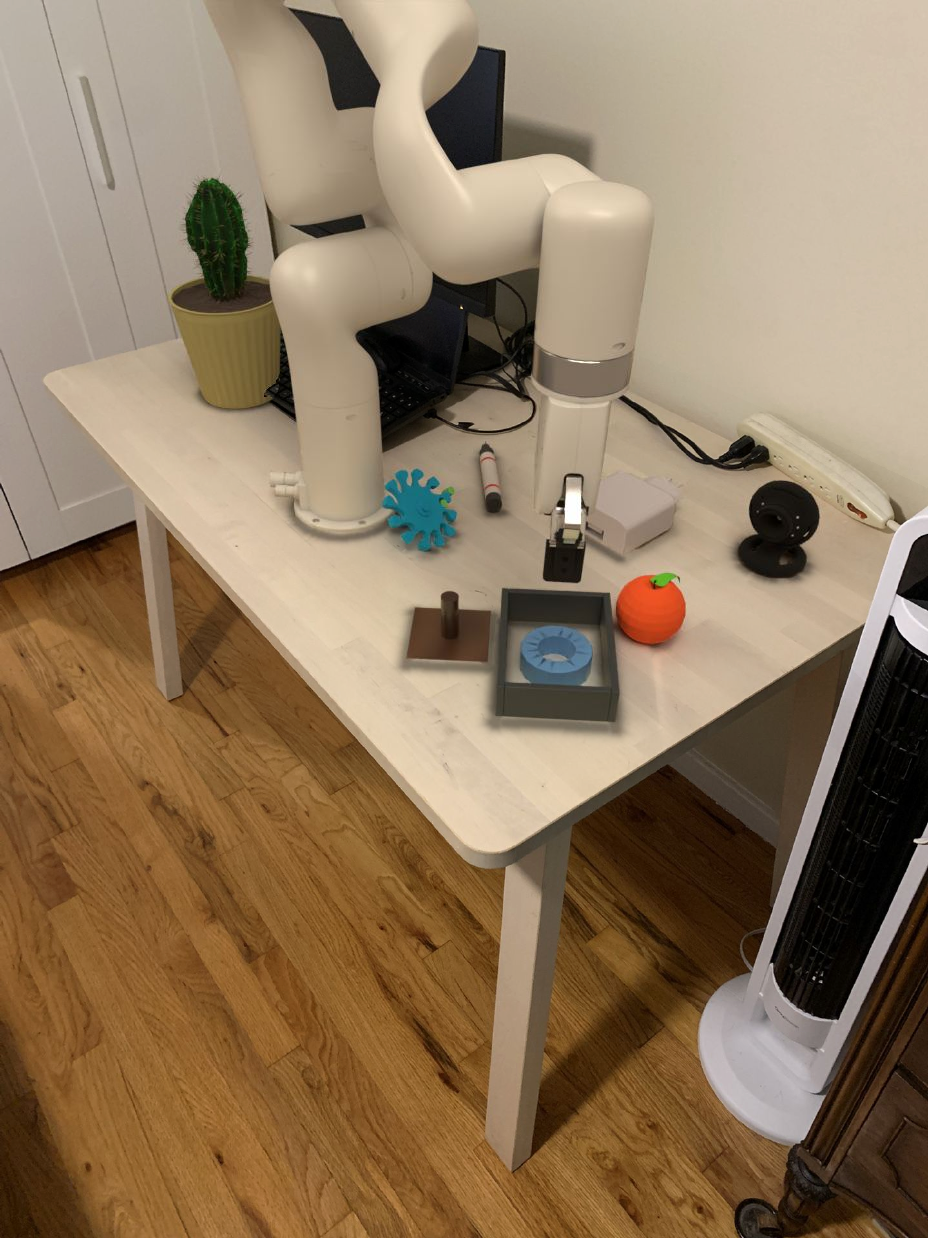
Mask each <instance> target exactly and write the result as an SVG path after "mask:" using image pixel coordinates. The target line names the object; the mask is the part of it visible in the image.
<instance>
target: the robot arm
mask: <svg viewBox="0 0 928 1238" xmlns="http://www.w3.org/2000/svg"><path fill="white" fill-rule="evenodd" d="M285 1H286V0H203V3H204V6H205V8H206V11H207V13H208V16H209V18H210V20H211V22H212V25H213V28H214V29H215V31H216V33H217V35H218V38H219V39H220V42H221V44H222V46H223V49H224V51H225V53H226V55H227V58H228V62H229V63H230V65H231V68H232V71H233V74H234V78H235V81H236V85H237V89H238V90H237V91H238V95H239V100H240V104H241V108H242V113H243V117H244V122H245V125H246V130H247V133H248V137H249V142H250V147H251V151H252V155H253V159H254V163H255V167H256V171H257V175H258V179H259V183H260V187H261V190H262V193H263V197H264V200H265V203H266V204H267V207H268V209H269V211H270V212H271V213H272V215H273V216H274V217H275V219H277V220H278V221H279V222H281V223H283V224H286V225H288V226H309V225H314V224H322V223H325V222H331V221H336V220H341V219H346V218H350V217H355V216H359V215H361V216H362V220H363V221H364V225H365V228H360V229H356V230H352V231H347V232H340V233H335V234H331V235H327V236H322V237H317V238H313V239H309V240H305V241H303V242H299V243H297V244H295V245H292V246H291V247H289V248H287V249H286V250H284V251H283V252H281V253H280V254H279V255H278V256H277V258H276V259H275V260H274V262H273V264H272V266H271V267H270V268H271V269H270V271H269V278H268V279H269V284H270V291H271V296H272V300H273V304H274V307H275V310H276V313H277V316H278V320H279V323H280V326H281V328H280V331H281V333H282V336H283V341H284V345H285V349H286V354H287V361H288V367H289V374H290V380H291V388H292V389H291V390H292V397H293V403H294V404H293V405H294V411H295V420H296V428H297V437H298V445H299V453H300V461H301V468H302V470H299V469H297V470H296V471H295V472H286V471H272V470H271V471H270V473H269V479H268V480H269V486H270V487H271V488H274V494H275V496H276V497H280V498H281V497H285V498H287V497H292V498H293V497H294V500H293V511H294V514H295V517H296V518H299V520H300V521H301V522H302V523H304V524H305V525H307V526H309V527H311V528H314V529H316V530H320V531H325V532H333V533H351V532H358V531H362V530H367V529H370V528H373V527H376V526H378V525H380V524H382V523H384V522H388V518H389V517H391V516H392V515H396V513H397V512H396V511H394V510H392V509H385V508H384V507H383V506H382V504H383V499H384V498H385V497H387V496H388V495H390V496H392V497H393V498H394V500H395V502H396V503H397V504H398V502H397V500H396V498H395V497H394V496H393V495H392V494H391V493H390V492H388V491H387V490H386V489H385V487H384V486H385V485H386V483H387V482H386V481H385V475H384V457H383V441H382V440H383V439H382V422H381V421H382V420H381V406H380V405H381V404H380V403H381V402H380V392H379V391H380V388H379V376H378V369H377V366H376V364H375V363H376V362H375V361H374V359H373V358H372V356H371V355H370V353H368V351H366V350H365V348H364V347H363V346H362V345H361V344H360V343H359V342H358V341H357V337H356V335H357V334H358V332H359V331H362V330H364V329H365V330H366V329H368V328H371V327H372V326H376V325H379V324H383V323H387V322H389V321H393V320H398V319H400V318H404V317H407V316H409V315H411V314H414V313H417V312H418V311H419V310H421V309H422V308H423V307H424V306H426V304H427V302H428V300H429V299H430V296H431V293H432V289H433V278H434V276H433V274H434V275H435V276H437V277H439V278H440V279H442V280H443V281H446V282H447V283H451V284H455V285H461V286H462V285H472V284H477V283H482V282H486V281H489V280H493V279H496V278H499V277H503V276H507V275H510V274H513V273H517V272H521V271H524V270H531V269H539V270H538V281H537V282H538V284H537V296H536V309H535V321H534V333H533V335H534V336H533V346H532V359H531V360H532V361H531V373H530V381H531V384H532V386H533V387H534V388H535V389H536V390H537V391H539V393H541V397H540V404H539V413H538V414H539V415H538V424H537V434H536V435H537V436H536V444H535V445H536V446H535V453H534V464H533V465H534V469H533V470H534V471H533V508H534V509H535V511H536V513H537V514H539V515H544V516H547V517H548V516H550V526H549V527H550V530H549V538H546V539H545V549H544V559H543V567H542V580H543V581H544V582H548V583H549V582H550V583H563V584H564V583H567V584H579V583H581V581H582V575H583V569H584V561H585V555H586V547H587V541H586V540H585V539H586V534H585V531H586V530H585V527H586V516H587V517H588V516H590V515H591V514H593V513H594V511H595V507H596V502H597V497H598V492H599V486H600V480H601V479H602V473H603V468H604V467H603V466H604V460H605V453H606V446H607V441H608V433H609V424H610V417H611V410H612V401H615V400H617V399H619V398H621V397H622V396H624V395H625V394H626V393H627V391H628V390H629V388H630V381H631V375H632V368H633V362H634V357H635V350H636V344H637V343H636V342H637V335H638V330H639V323H640V316H641V309H642V306H643V305H642V304H643V296H644V290H645V284H646V278H647V271H648V266H649V259H650V253H651V245H652V240H653V233H654V226H655V225H654V224H655V210H654V205H653V203H652V201H651V199H650V197H649V196H647V195H646V194H645V193H644V192H643V191H641V189H639V188H636V187H633V186H631V185H628V184H624V183H620V182H614V181H608V180H607V181H606V180H604V179H602V178H601V177H599V175H597V174H595V173H593V172H592V171H591V170H589V169H588V168H587V167H586V166H584V165H583V164H581V163H580V162H578V161H576V160H575V159H574V158H571V157H569V156H566V155H563V154H558V153H542V154H537V155H531V156H526V157H520V158H516V159H507V160H501V161H497V162H492V163H487V164H481V165H476V166H472V167H467V168H466V167H465V168H461V169H457V168H456V167H455V166H454V165H453V163H452V162H451V161H450V159H449V157H448V156H447V154H446V152H445V150H444V149H443V148H442V146H441V144H440V142H439V141H438V138H437V137H436V135H435V133H434V132H433V129H432V128H431V127H432V126H431V125H430V123H429V120H428V118H427V115H426V111H428V110H429V109H430V108H431V107H433V106H434V105H435V104H436V103H437V102H438V101H440V100H441V99H442V98H443V97H445V96H446V95H447V94H448V93H449V92H450V91H451V90H452V89H453V88H455V86H456V85H457V84H458V83H459V82H460V80H461V79H462V78H463V76H465V73H466V72H467V71H468V69H469V68H470V67H471V65H472V63H473V61H474V58H475V57H476V54H477V50H478V48H479V47H478V46H479V41H480V28H479V27H480V26H479V22H478V19H477V17H476V14H475V12H474V11H473V8H472V7H471V6H470V4H469V2H468V1H467V0H331V2H332V4H333V5H334V7H335V9H336V11H337V12H338V14H339V16H340V18H341V19H342V21H343V23H344V25H345V26H346V27H347V30H348V31H349V32H350V34H351V36H352V38H353V40H354V41H355V43H356V45H357V47H358V48H359V50H360V52H361V53H362V55H363V58H364V59H365V60H366V62H367V64H368V66H369V67H370V69H371V71H372V73H373V74H374V75H375V78H376V79H377V80H378V83H379V85H380V86H379V90H378V93H377V98H376V102H375V106H374V107H373V106H361V107H353V108H347V109H341V110H338V109H337V108H336V106H335V103H334V101H333V97H332V92H331V87H330V81H329V75H328V70H327V66H326V62H325V59H324V56H323V53H322V51H321V50H320V48H319V46H318V44H317V43H316V41H315V39H314V38H313V37H312V35H311V33H309V30H308V29H307V28H306V27H305V26H304V24H303V23H302V22H301V21H300V19H299V18H298V17H297V16H296V15H295V14H294V13H293V11H291V10H290V9H289V8H288V7H287V6H286V5H285V4H284V2H285ZM581 498H582V499H581ZM559 517H563V521H562V527H558V526H559Z"/></svg>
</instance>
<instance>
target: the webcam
mask: <svg viewBox="0 0 928 1238" xmlns="http://www.w3.org/2000/svg"><path fill="white" fill-rule="evenodd" d="M820 515H821V514H820V508H819V505H818V502H817V501H816V499H815V497H814V496H813V494H812V493H811V492H809V490H807V489H806V488H805V487H803V486H802V485H800V484H798V483H796V482H794V481H790V480H782V479H781V480H780V479H779V480H775V479H774V480H772V481H769V482H766V483H763V485H762V486H760V487H758V488H757V490H756V491H755V492H754V493H753V494H752V496H751V499H750V500H749V505H748V517H749V521H750V524H751V527H752V528H753V530H754V531H755V532H756V533H755V534H751V535H749V536H747V537H745V538H744V539H743V540H742V541H741V542H740V543H739V546H738V548H737V553H738V557H739V559H740V560H741V562H742V564H743V565H744V566H745V567H746V568H748V569H749V570H750V571H752V572H754V573H757V574H758V575H761V576H763V577H768V578H769V577H771V578H788V577H789V578H790V577H793V576H795V575H797V574H799V573H801V572H802V571H803V570H804V569H805V567H806V565H807V563H808V562H807V561H808V557H807V554H806V551H805V549H804V548H803V547H802V545H804V544H805V543H806V542H808V541H809V540H810V539H812V537H814V535H815V533H816V532H817V529H818V527H819V526H820V519H821V516H820ZM754 548H756V549H754ZM753 549H754V550H753ZM752 550H753V551H752ZM787 553H788V554H789V555H790V556H791V557H792V561H790V562H788V563H784V564H783V563H780V561H781V559H782V558H783V556H784V555H786V554H787Z"/></svg>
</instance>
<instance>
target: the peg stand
mask: <svg viewBox="0 0 928 1238" xmlns="http://www.w3.org/2000/svg"><path fill="white" fill-rule="evenodd" d="M491 613H492V611H491V610H484V609H482V610H481V609H462V608H460V595H459V594H458V592H456V591H453V590H446V591H443V592H442V593H441V594H440V608H439V607H420V606H418V607H417V606H416V607H414V610H413V617H412V621H411V628H410V634H409V641H408V646H407V651H406V652H407V653H406V659H412V660H429V661H431V660H433V661H451V662H452V661H453V662H469V663H470V662H473V663H488V662H489V661H488V659H489V646H490V645H489V644H490V632H491V631H490V629H491V616H492V614H491Z"/></svg>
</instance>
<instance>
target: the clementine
mask: <svg viewBox="0 0 928 1238" xmlns="http://www.w3.org/2000/svg"><path fill="white" fill-rule="evenodd" d="M676 578H677V580H678V582H679V584H681V577H680V576H678V575H677V574H675V573H673V572H672V573H671V572H663V573H659V574H645V575H640V576H637V577H635V578H633V579H632V580H630V581H629V582H627V583H626V584H625V585H624V586H623V588H622V589H621V590H620V591H619V594H618V596H617V599H616V602H615V616H616V620H617V622H618V624H619V627H620V628H621V630H622V631H623V632H624V633H625V635H627V636H628V637H629V638H630V639H632V640H634V641H636V642H639V643H643V644H651V645H652V644H659V643H663V642H665V641H666V640H668V639H671V638H672V637H674V636H675V635H676V633H678V632H679V630H680V629H681V628H682V626H683V623H684V621H685V619H686V610H687V607H686V604H687V603H686V600H685V596H684V594H683V592H682V590H681V589H680V588H679V587H678V585H676V583H675V582H674V581H672V580H674V579H676Z"/></svg>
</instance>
